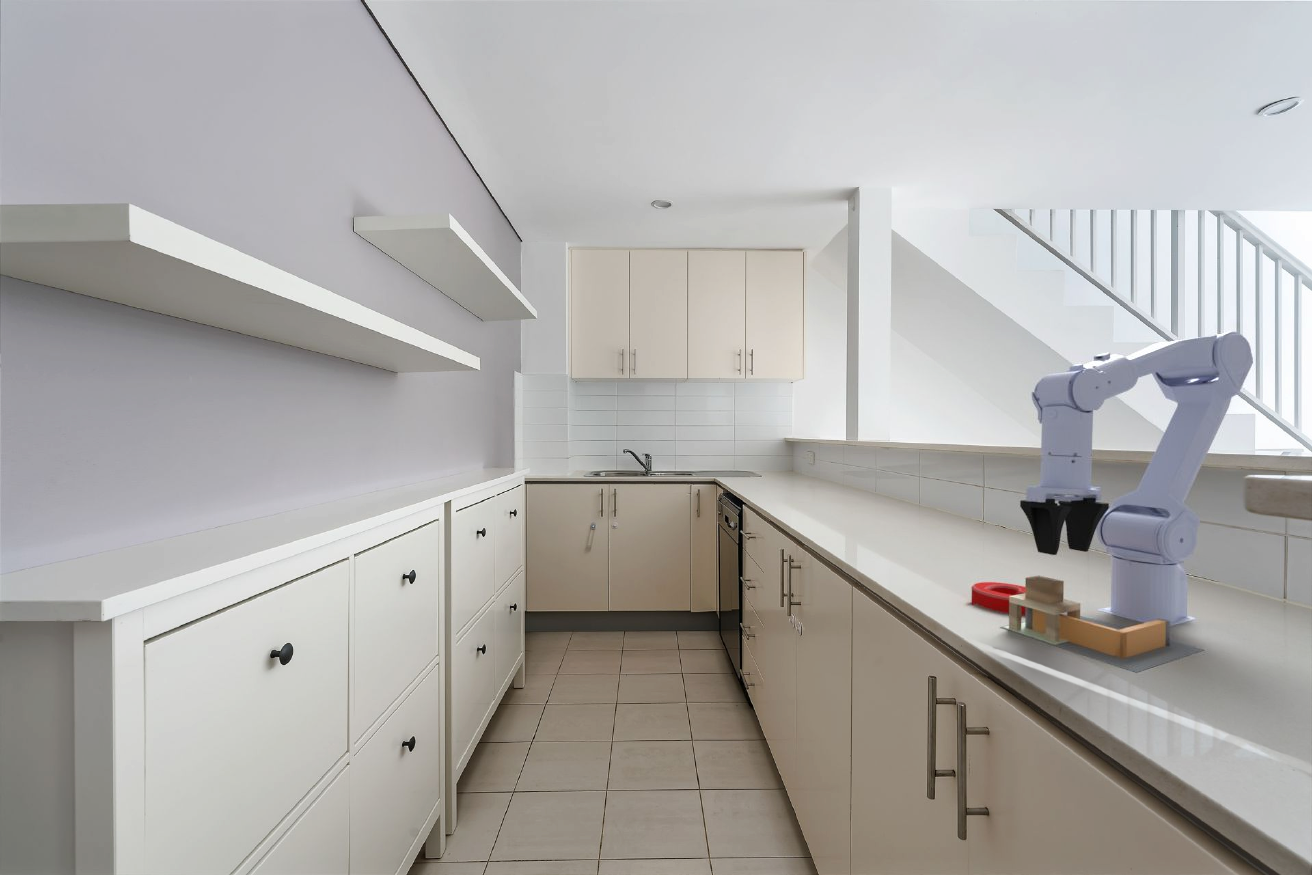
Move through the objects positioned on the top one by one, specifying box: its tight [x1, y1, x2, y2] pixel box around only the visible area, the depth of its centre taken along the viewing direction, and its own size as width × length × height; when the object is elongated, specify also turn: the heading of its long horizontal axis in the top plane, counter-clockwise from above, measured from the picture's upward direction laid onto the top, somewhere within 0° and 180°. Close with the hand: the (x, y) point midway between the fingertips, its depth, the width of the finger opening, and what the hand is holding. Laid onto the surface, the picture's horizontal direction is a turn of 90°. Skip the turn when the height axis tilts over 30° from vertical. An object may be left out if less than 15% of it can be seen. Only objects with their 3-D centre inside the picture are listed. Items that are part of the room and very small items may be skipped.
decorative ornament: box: [971, 581, 1026, 616], centre depth 82 cm, size 10×10×3 cm
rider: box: [1008, 575, 1081, 643], centre depth 70 cm, size 6×6×7 cm
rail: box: [1024, 607, 1171, 659], centre depth 69 cm, size 11×11×3 cm
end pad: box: [1002, 621, 1068, 646], centre depth 70 cm, size 6×6×1 cm
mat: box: [999, 612, 1205, 673], centre depth 68 cm, size 16×15×1 cm
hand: (1063, 551), depth 75 cm, fingers open, 7 cm apart
